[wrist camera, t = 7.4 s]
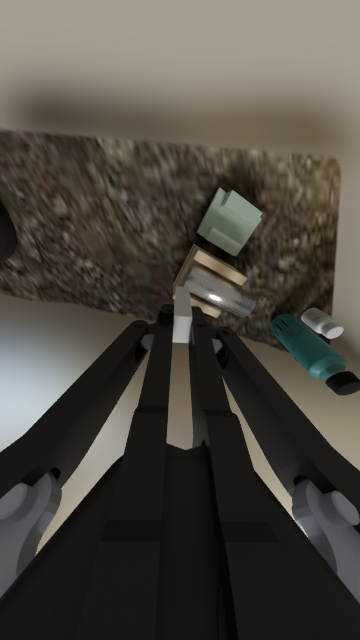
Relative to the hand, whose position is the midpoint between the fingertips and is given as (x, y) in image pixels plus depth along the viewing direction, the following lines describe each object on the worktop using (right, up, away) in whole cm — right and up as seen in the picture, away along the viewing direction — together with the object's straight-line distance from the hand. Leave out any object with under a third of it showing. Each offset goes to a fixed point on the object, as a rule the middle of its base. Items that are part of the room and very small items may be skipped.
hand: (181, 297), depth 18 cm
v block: (+9, +15, +10) cm, 20 cm away
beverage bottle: (+27, -3, +23) cm, 35 cm away
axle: (+7, +3, +11) cm, 14 cm away
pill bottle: (+34, -1, +22) cm, 41 cm away
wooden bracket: (+5, +7, +15) cm, 18 cm away
